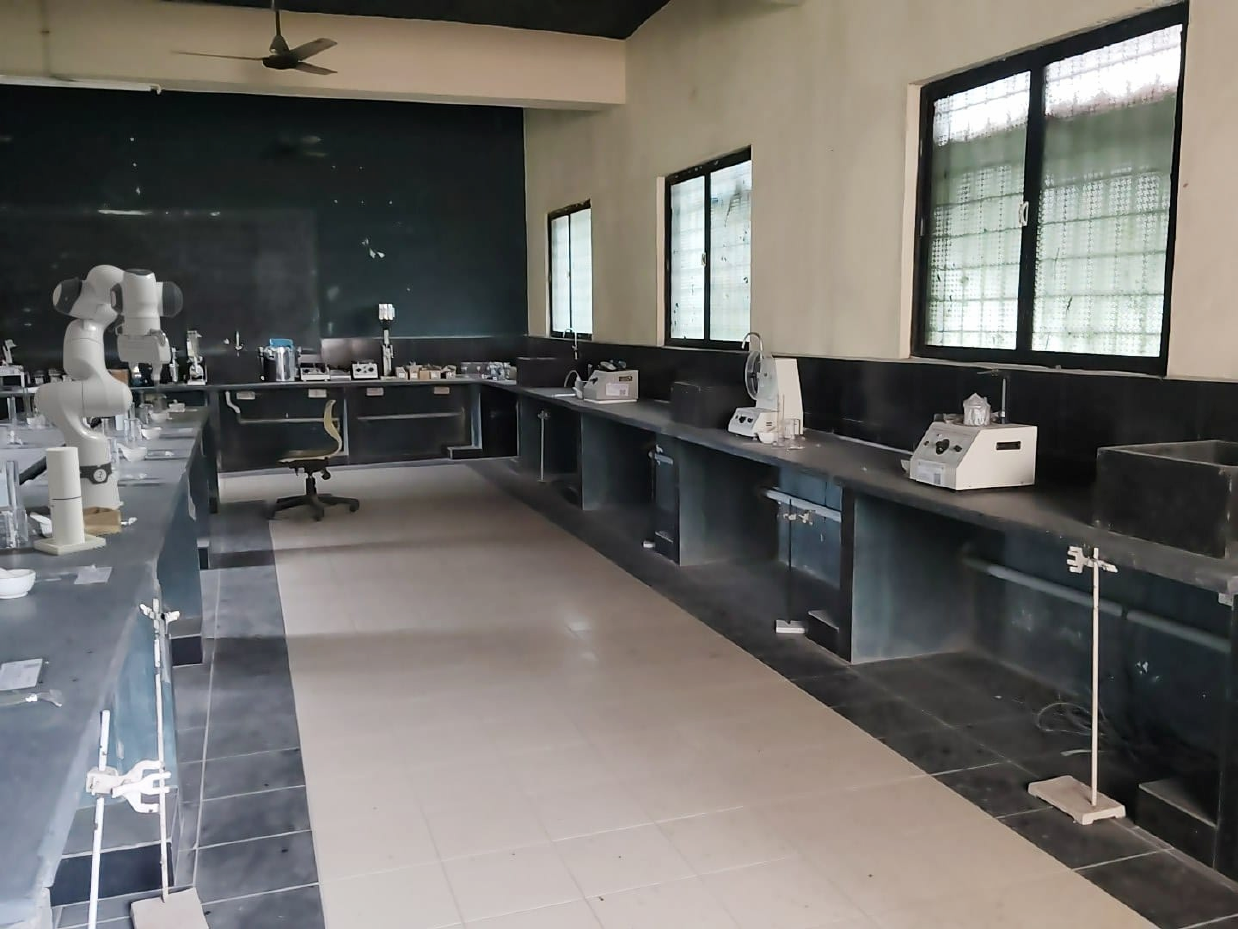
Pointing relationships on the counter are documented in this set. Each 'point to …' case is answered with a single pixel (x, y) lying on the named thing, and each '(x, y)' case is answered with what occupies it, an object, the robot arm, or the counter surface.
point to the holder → (101, 520)
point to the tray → (89, 544)
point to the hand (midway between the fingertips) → (146, 379)
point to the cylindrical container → (65, 495)
